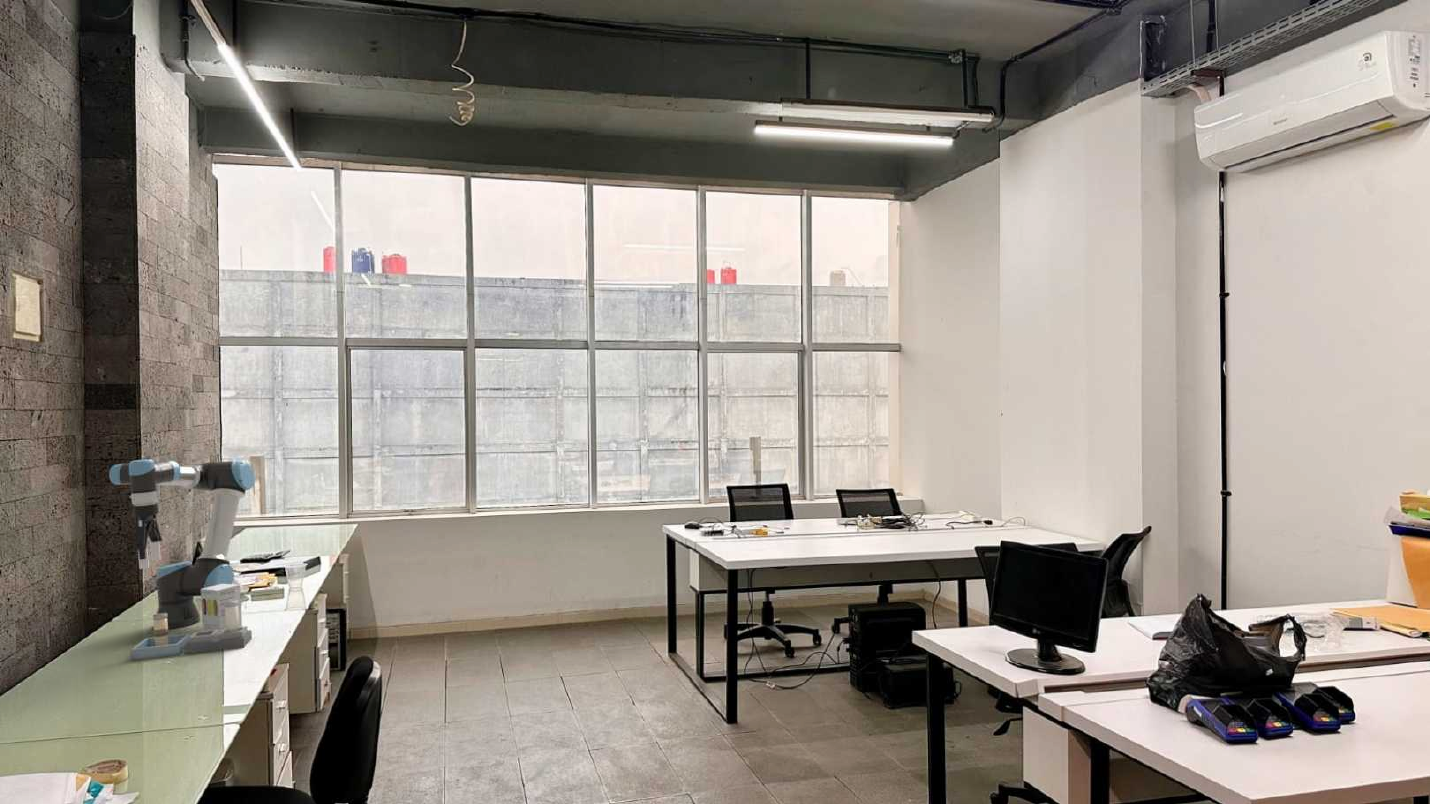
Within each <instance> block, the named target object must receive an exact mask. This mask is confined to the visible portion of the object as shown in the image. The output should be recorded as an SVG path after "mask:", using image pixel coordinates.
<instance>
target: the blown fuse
mask: <svg viewBox="0 0 1430 804" xmlns="http://www.w3.org/2000/svg"><path fill="white" fill-rule="evenodd" d="M152 621H153V638H154V637H155V646H162V645H169V637H168V636H169V629H168V622H167V613H158V614H157V613H154V614H153V615H152Z"/></svg>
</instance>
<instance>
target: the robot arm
mask: <svg viewBox="0 0 1430 804" xmlns="http://www.w3.org/2000/svg"><path fill="white" fill-rule="evenodd" d="M254 471H255V470H254V469H253V467H252V465H251V464H250V463H249V462H247V461H243V460H241V461H238V460H233V461H232V460H230V461H229V460H228V461H211V462H205V463H204V462H203V463H196V464H185V465H182V466H180V464H179V463H178V462H176V461H174V460H164V461H160V462H159V461H158V462H155V461H154V459H151V458H150V459H149V458H144V459H138V460H137V459H136V460H132V461H130V462H129V463H119V464H114V465H113V466H111V468H110V469H109V476H108V477H109V479H110V482H111V483H112V484H113V485H116V486H117V485H119V486H120V485H121V486H125V485H126V486H127V485H130V494H131V495H129V499H131V504H132V517H134V518H139V520H136V522H135V523H136V524H135V525H136V526H135V527H136V531H135V547H134V548H133V549H134V551H137V557H138V565H139V567H138V568H139V570H141V569H149V568H150V559H149V552H148V551H149V549H148V548H147V546H148V538H149V539H150V542H149V546H150V557H151V561H160V560H162V558H161V556H162V555H161V547H160V546H161V545H160V542H161V541H163V538H162V536H161V535H162V534H161V532H160V528H159V524H158V521H157V519H158V518H157V515H158V514H159V504H158V503H157V502H158V501H159V500H158V492H157V491H158V490H157V486H175V487H176V486H178V487H179V486H180V487H182V488H183V489H191V490H199V491H209V492H212V494H213V495H214V501H213V505H212V511H211V514H210V518H209V519H210V520H209V522H208V527H207V531H206V535H205V540H204V544H203V549H202V553H201V555H200V556H198V557H196V560H195V564H194V565H193V563H192V561H182V562H177V563H173V564H169V565H165V566H162V567H159V568H158V569H157V571H156V579H155V580H156V581H155V582H156V588H157V591H156V592H157V600H158V607H157V611H156V614H158V613H167V622H168V630H169V629H176V628H177V629H178V628H182V627H187V626H191V625H194V624H196V623H199V622H200V621H201V613H200V612H199V609H198V608H197V605H196V602H195V598H194V597H201V589H203V588H207V587H211V586H215V585H219V584H233V582H234V579H235V572H234V568H233V567H232V565H230V564H231V561H230V560H229V558H228V553H229V550H230V543H231V541H232V536H233V530H234V525H235V521H236V517H237V514H238V513H237V512H238V508H239V503H240V500H241V499H243V498H244V497H245V495H246V492H247V491H249V490H250V489H252V488H253V487H254V485H255V481H256V480H255V479H256V478H255V476H256V475H255V472H254Z"/></svg>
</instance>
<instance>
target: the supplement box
mask: <svg viewBox="0 0 1430 804" xmlns="http://www.w3.org/2000/svg"><path fill="white" fill-rule="evenodd" d="M200 598H201V599H200V600H201V601H200V602H201V617H202V631H209V630H218V629H219V633H220V632H221V631H222V630H223V629H226V618H225V607H224V602H226V601H231V600H238V614H239V627H243V621H242V620H243V619H242V604H241V585H240V584H233V583H232V584H219V585H215V586H211V587H207V588H203V589H201V596H200Z"/></svg>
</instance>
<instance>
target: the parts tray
mask: <svg viewBox="0 0 1430 804" xmlns="http://www.w3.org/2000/svg"><path fill="white" fill-rule="evenodd" d="M191 635H192V633H181V634H174V635H168V637H169V645H162V646H155V637H154V636H153V637H148V638H144V639H143V640H142V641H141V642H139V643H137V644H136V645H135V646H134V647H132V648H131V650H130V657H131V659H130V660H131V661H134V660H135V661H136V660H143V659H153V658H161V657H163V658H164V657H168V656H178V655H180V654H181V653H182V652H184V651H185V645H186V644H187V643H188V642H189V637H190V636H191Z"/></svg>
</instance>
